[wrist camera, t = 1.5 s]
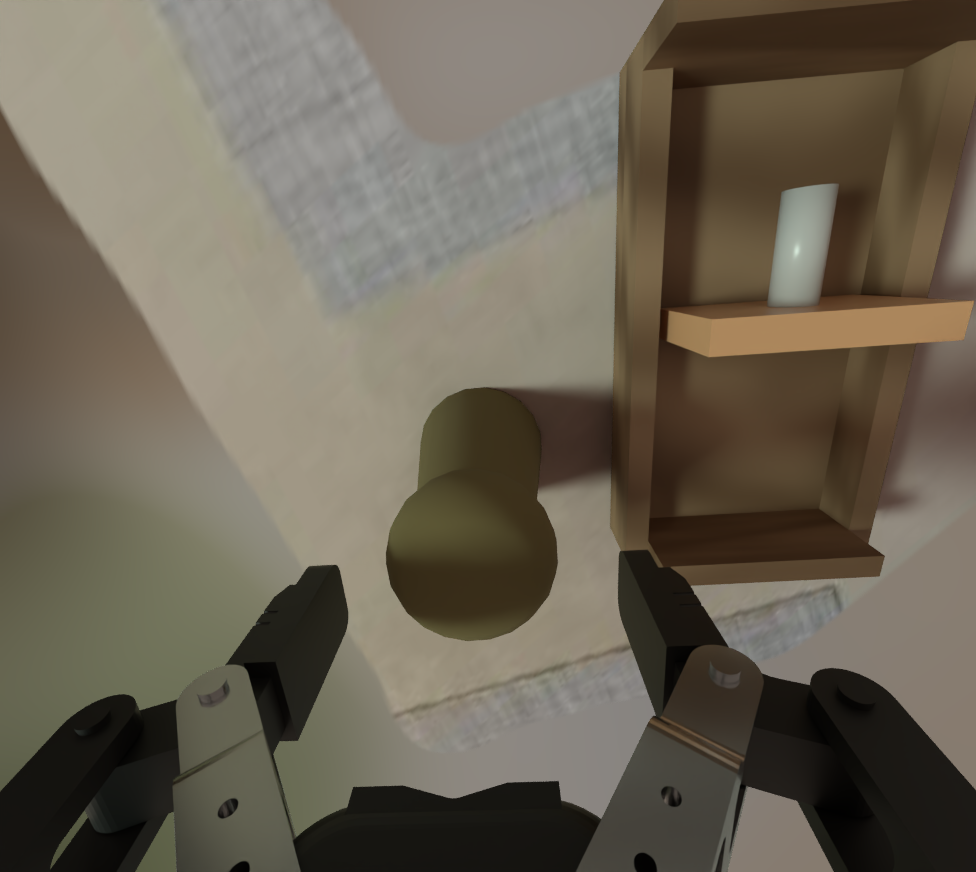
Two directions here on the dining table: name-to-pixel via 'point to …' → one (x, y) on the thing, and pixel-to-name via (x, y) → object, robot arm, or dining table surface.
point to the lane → (748, 263)
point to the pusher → (810, 300)
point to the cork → (474, 521)
